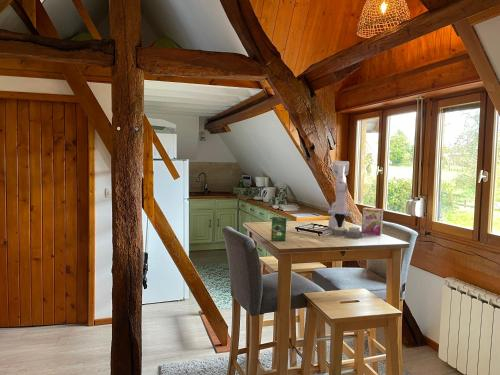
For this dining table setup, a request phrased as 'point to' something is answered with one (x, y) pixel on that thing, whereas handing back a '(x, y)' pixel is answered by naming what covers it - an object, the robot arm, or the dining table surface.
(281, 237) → the coffee box
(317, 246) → the dining table surface
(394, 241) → the dining table surface
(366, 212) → the candy bar box
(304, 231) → the dining table surface
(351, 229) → the light gray key
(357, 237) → the key panel
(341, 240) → the dining table surface
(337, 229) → the cream key
